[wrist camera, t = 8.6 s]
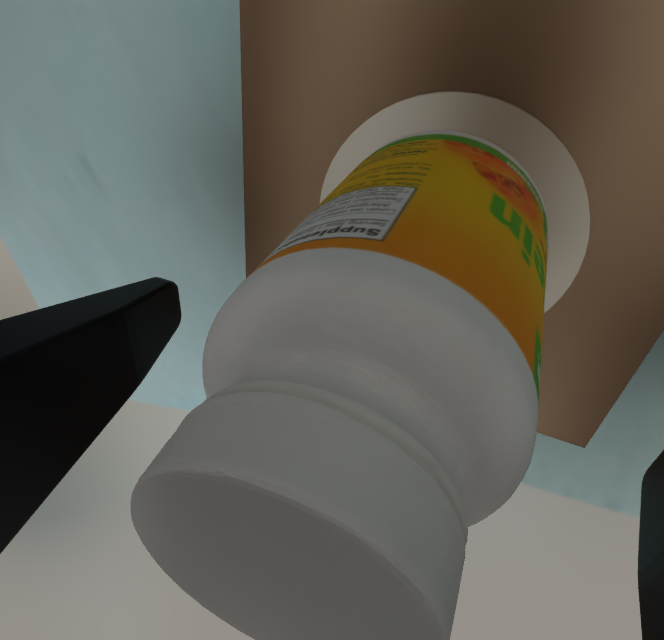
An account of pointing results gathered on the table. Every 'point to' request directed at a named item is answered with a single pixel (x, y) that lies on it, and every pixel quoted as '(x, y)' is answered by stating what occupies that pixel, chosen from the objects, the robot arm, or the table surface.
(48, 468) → the robot arm
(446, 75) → the walnut base
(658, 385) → the table surface
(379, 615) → the supplement bottle
